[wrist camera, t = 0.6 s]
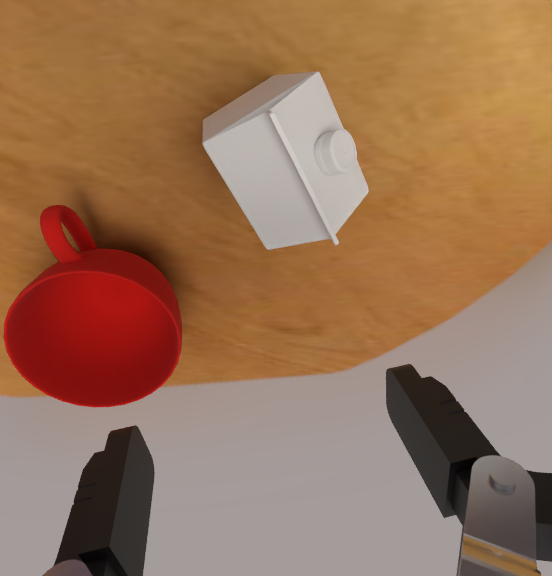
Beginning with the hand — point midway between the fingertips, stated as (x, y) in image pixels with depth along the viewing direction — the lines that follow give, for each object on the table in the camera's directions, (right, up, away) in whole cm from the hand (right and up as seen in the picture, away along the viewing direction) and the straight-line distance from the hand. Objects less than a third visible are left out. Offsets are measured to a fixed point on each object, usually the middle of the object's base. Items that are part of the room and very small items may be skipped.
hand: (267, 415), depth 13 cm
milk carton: (-1, +18, +23) cm, 29 cm away
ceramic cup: (-16, +6, +26) cm, 31 cm away
